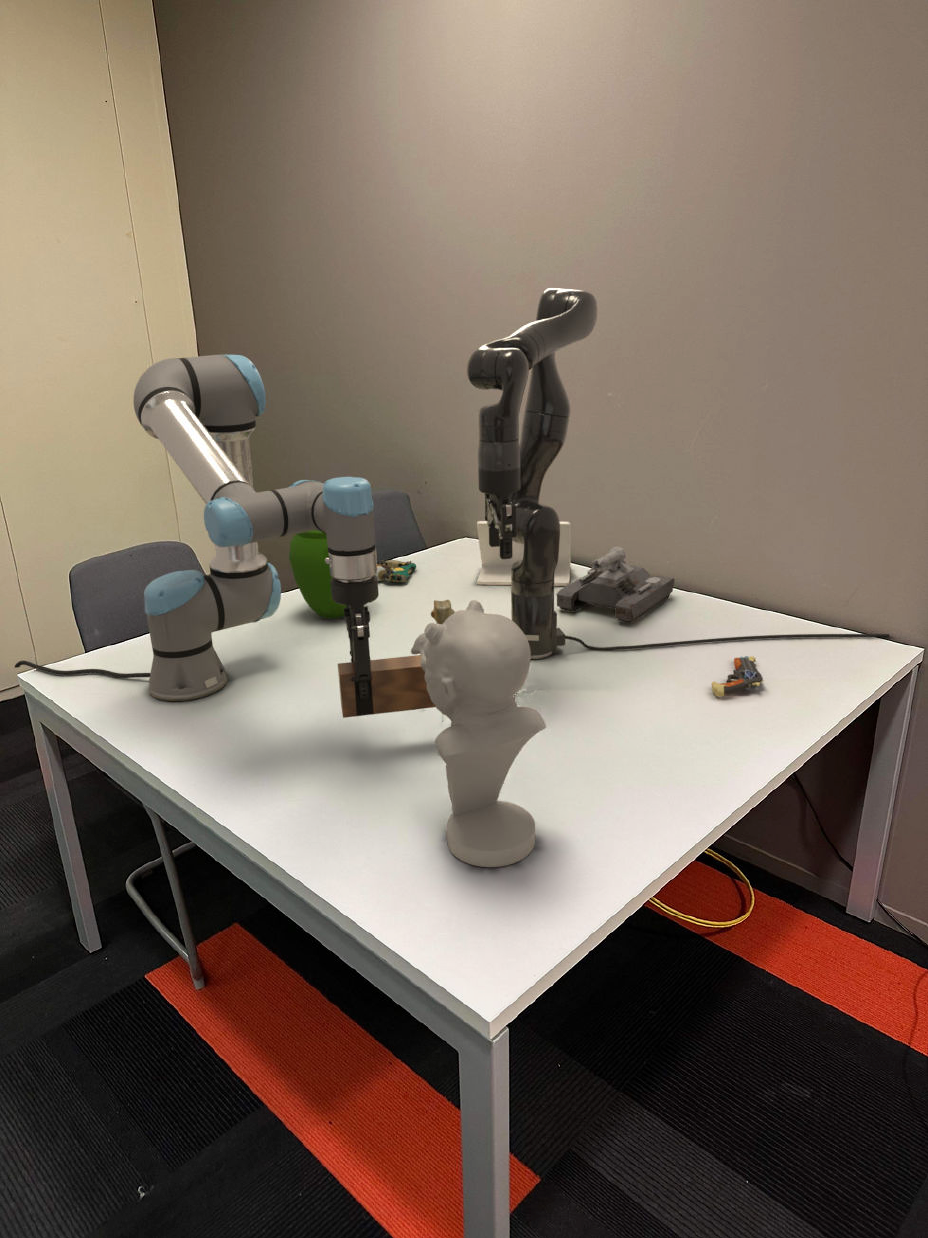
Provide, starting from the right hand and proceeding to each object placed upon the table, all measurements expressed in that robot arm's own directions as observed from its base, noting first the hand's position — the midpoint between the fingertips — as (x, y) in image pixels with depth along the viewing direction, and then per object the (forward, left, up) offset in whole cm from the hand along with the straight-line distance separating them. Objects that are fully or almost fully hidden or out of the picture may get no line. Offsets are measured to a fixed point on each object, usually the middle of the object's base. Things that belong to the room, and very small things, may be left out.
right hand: (500, 552), depth 158 cm
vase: (+30, -55, -29) cm, 69 cm away
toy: (-40, -42, -29) cm, 65 cm away
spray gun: (+11, -82, -29) cm, 88 cm away
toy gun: (-47, +6, -29) cm, 55 cm away
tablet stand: (-24, -72, -29) cm, 82 cm away
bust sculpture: (+16, +44, -29) cm, 55 cm away
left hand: (+28, +17, -20) cm, 39 cm away
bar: (+19, +17, -21) cm, 33 cm away
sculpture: (+9, -14, -29) cm, 33 cm away
